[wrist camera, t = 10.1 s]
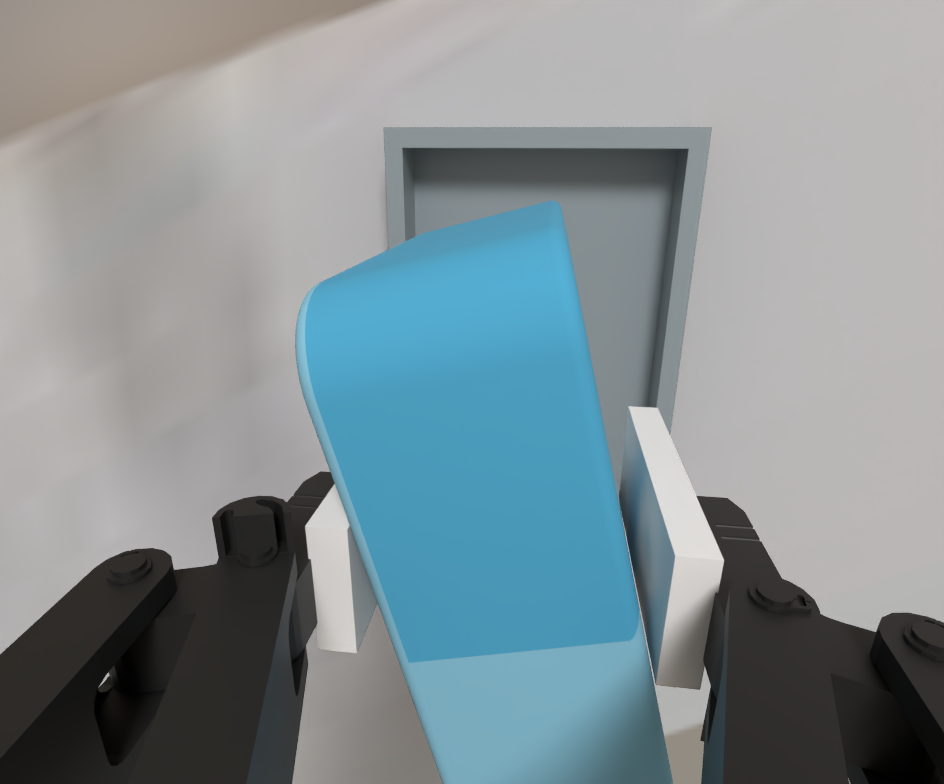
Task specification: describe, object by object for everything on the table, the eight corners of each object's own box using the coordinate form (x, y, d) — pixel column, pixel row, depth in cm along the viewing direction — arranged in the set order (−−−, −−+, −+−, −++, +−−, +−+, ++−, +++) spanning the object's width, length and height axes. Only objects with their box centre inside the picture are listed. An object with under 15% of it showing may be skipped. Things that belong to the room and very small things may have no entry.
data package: (620, 516, 23) (685, 849, 12) (506, 532, 24) (463, 855, 12) (559, 196, 19) (567, 232, 8) (425, 230, 20) (263, 306, 9)
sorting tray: (410, 461, 35) (398, 487, 32) (400, 131, 28) (383, 127, 26) (651, 477, 33) (660, 506, 30) (695, 131, 27) (711, 127, 24)
